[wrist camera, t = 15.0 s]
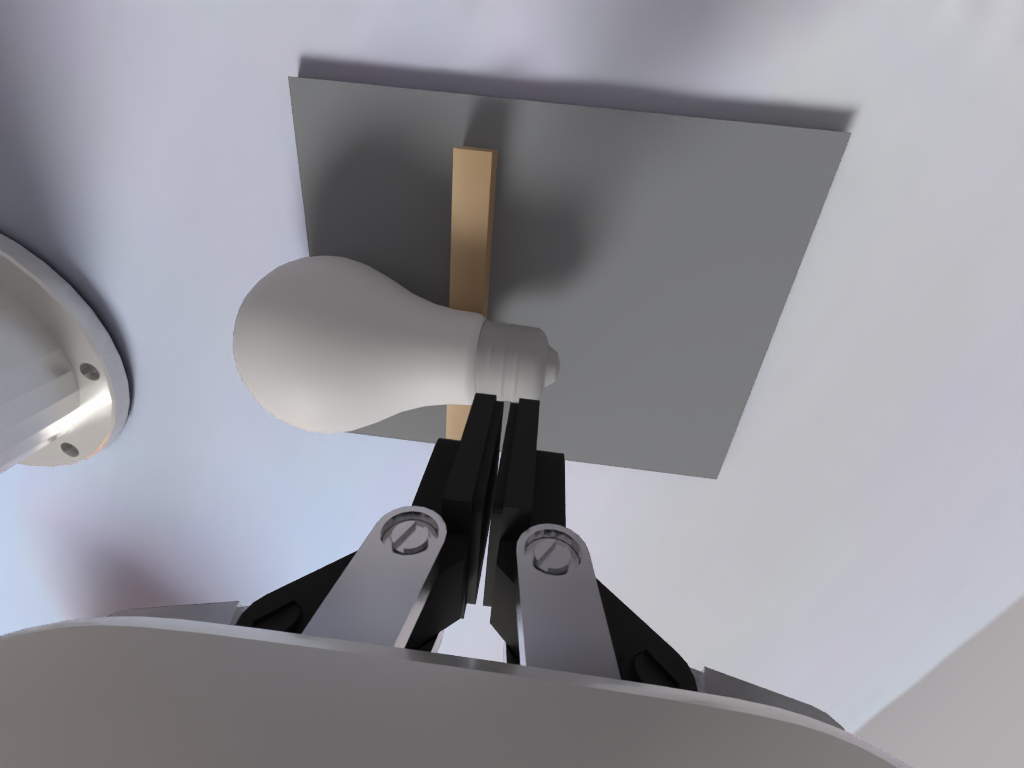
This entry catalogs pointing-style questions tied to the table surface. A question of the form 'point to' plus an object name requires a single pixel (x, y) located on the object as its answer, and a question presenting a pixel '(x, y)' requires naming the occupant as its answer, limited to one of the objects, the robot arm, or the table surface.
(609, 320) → the mat
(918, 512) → the table surface
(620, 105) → the table surface
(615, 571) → the table surface
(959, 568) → the table surface
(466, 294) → the rail
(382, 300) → the lightbulb
